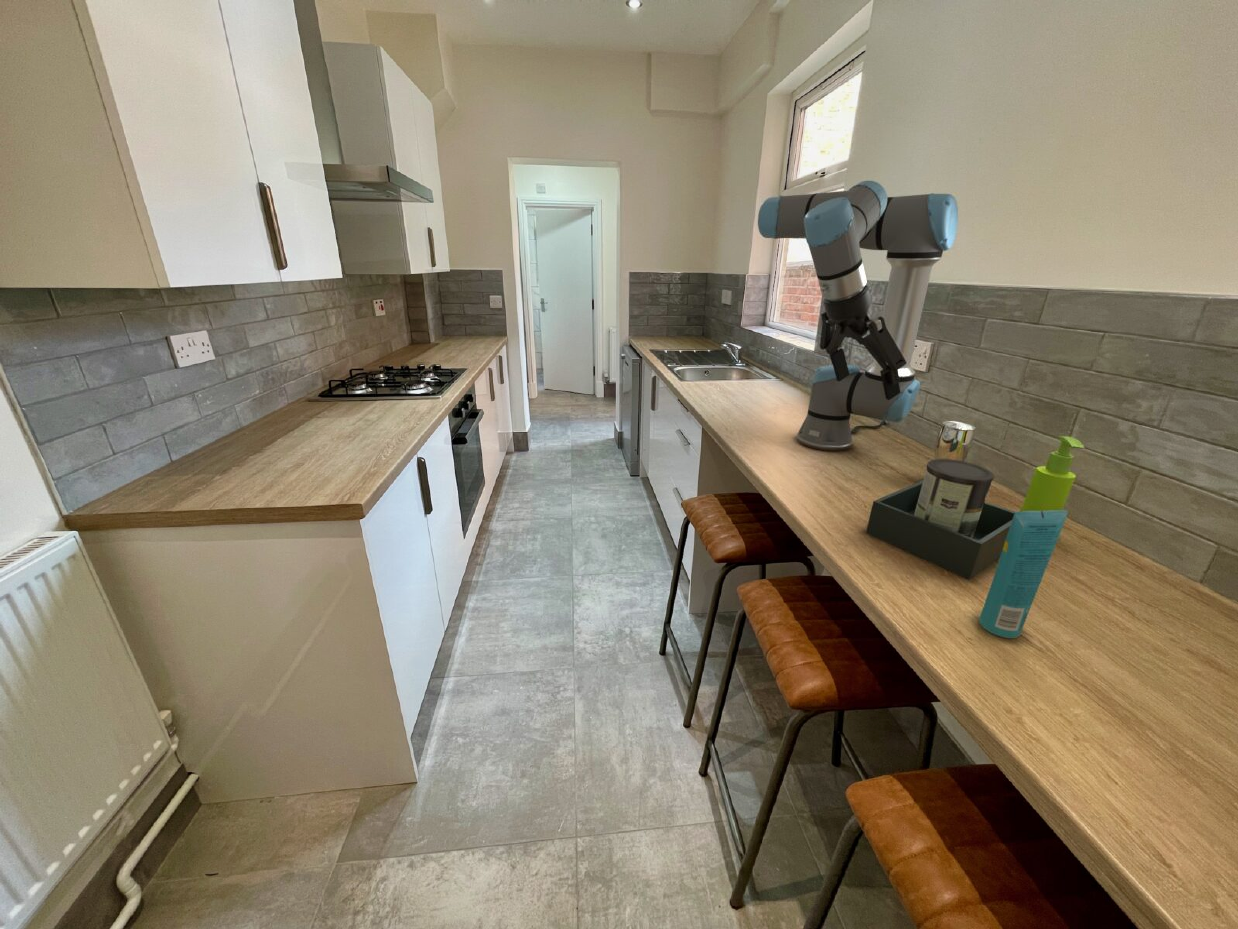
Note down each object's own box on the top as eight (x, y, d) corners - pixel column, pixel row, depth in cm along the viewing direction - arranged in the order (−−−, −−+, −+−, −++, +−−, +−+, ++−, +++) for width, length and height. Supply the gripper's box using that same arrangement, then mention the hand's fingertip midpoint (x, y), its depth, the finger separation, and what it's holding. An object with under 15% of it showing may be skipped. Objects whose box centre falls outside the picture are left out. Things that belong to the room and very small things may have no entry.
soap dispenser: (1022, 537, 96) (1059, 442, 89) (1010, 522, 102) (1043, 431, 95) (1059, 543, 94) (1099, 446, 87) (1044, 527, 100) (1080, 435, 93)
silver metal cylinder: (953, 491, 116) (971, 431, 110) (921, 482, 120) (937, 424, 115) (962, 484, 120) (980, 425, 114) (931, 475, 125) (947, 419, 119)
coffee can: (957, 526, 98) (978, 461, 93) (981, 553, 89) (1006, 482, 83) (901, 520, 100) (919, 456, 94) (919, 546, 90) (940, 476, 85)
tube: (1004, 614, 74) (1048, 501, 67) (1035, 636, 70) (1085, 518, 63) (962, 619, 73) (1002, 504, 66) (990, 642, 69) (1036, 522, 61)
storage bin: (913, 509, 107) (921, 480, 104) (1013, 548, 92) (1026, 515, 90) (865, 532, 97) (873, 501, 94) (969, 579, 83) (981, 544, 80)
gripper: (786, 294, 99) (812, 380, 110) (880, 312, 78) (901, 416, 89) (816, 275, 99) (839, 362, 110) (918, 287, 78) (934, 393, 89)
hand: (866, 386), depth 100 cm, fingers open, 13 cm apart
